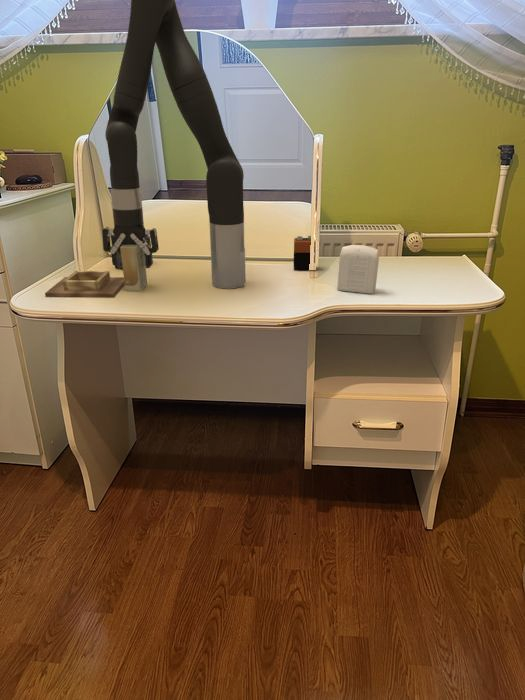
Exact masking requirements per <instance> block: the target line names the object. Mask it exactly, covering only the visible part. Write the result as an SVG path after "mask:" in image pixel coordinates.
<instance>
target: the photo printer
mask: <svg viewBox="0 0 525 700" xmlns="http://www.w3.org/2000/svg"><path fill="white" fill-rule="evenodd" d="M379 260H380V256H379V250H378V249H377V248H375V247H372V246H369V245H363V244H352V245H345V246H343V247H342V248H341V251H340V253H339V262H338V272H337V273H338V274H337V275H338V276H337V287H336V289H337V291H344V292H351V293H352V292H353V293H362V294H373V295H374V294H375V293H376V289H377V288H376V287H377V279H378V270H379V263H380V262H379Z"/></svg>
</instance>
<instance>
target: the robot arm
mask: <svg viewBox="0 0 525 700" xmlns="http://www.w3.org/2000/svg"><path fill="white" fill-rule="evenodd" d="M126 36H127V37H126V41H125V46H124V50H123V55H122V58H121V62H120V66H119V67H120V68H119V71H118V75H117V79H116V85H115V89H114V95H113V103H112V106H111V110H110V113H109V117H108V121H107V124H106V127H105V140H106V144H107V150H108V155H109V156H108V158H109V164H110V166H109V178H110V181H109V182H110V191H111V194H110V197H111V199H110V200H111V203H110V204H111V209H112V217H113V225H114V228H110V227H109V226H106V227H104V228H103V229H102V230H101V231H102V232H101V233H102V249H103V251H104V252H107V253H110V254H111V255H110V256H111V262H112V266H114V268H115V267H119V266H120V263H119V253H118V252H117V250H118V249H119V247H120V246H121V245H122V244H123V245H138V246H139V247H140V248H141V249H142V250H143V251H144V252H145V253H146V255H145V258H146V269H150V268H151V267H152V266H153V264H154V260H152V259H153V254H155V253H157V252H158V251H159V249H160V247H159V241H158V240H159V239H158V232H157V229H156V228H154V227H153V228H151V229H146V228H145V225H144V210H143V202H142V201H143V199H142V194H141V193H142V192H141V188H140V175H139V169H138V139H137V138H138V137H137V133H136V132H137V129H138V127H137V126H138V123H139V117H140V115H141V114H142V111H143V108H144V106H145V101H146V97H147V94H148V93H147V92H148V87H149V84H150V78H151V72H152V64H153V57H154V51H155V45H156V47H157V50H158V53H159V57H160V59H161V63H162V66H163V67H162V68H163V70H164V75H165V77H166V79H167V80H166V81H167V82H168V86H169V89H170V91H171V93H172V96H173V98H174V102H175V104H176V106H177V108H178V110H179V113H180V114H181V116H182V119H184V121H185V123H186V125H187V127H188V128H189V130H190V131H191V133H192V135H193V136H194V138H195V139H196V141H197V143H198V145H199V148H200V150H201V152H202V153H201V154H202V156H203V158H204V162H205V164H206V169H207V171H206V177H205V178H206V179H205V180H206V181H205V182H206V200H207V201H206V202H207V212H208V221H209V222H208V223H209V224H208V225H209V240H210V241H209V243H210V262H211V263H210V265H211V266H210V267H211V268H210V269H211V284H212V286H213V287H215V288H219V289H236V288H243V287H244V288H245V285H246V280H247V279H246V278H247V277H246V247H245V209H244V207H245V206H244V177H245V176H244V169H243V167H242V165H241V163H240V162H239V159H238V158H237V154H235V152H234V150H233V148H232V146H231V143H230V142H229V141H230V140H228V136H227V135H226V131H225V129H224V125H223V122H222V118H221V114H220V111H219V107H218V104H217V100H216V98H215V96H214V92H213V90H212V87H211V85H210V84H211V83H210V82H209V80H208V76H207V74H206V71H205V69H204V67H203V66H202V63H201V61H200V59H199V58H198V56H197V54H196V52H195V51H194V48H193V47H192V45H191V43H190V41H189V40H188V37H187V35H186V33H185V30H184V27H183V23H182V21H181V18H180V14H179V10H178V9H177V3H176V1H175V0H131V1H130V14H129V22H128V30H127V35H126ZM145 234H147V235H148V237H149V238H150V242H151V248H150V246H149V245H148V243H147V242H146V241H145V239H144V238H143V237H144V236H145ZM112 235H115V236H116V237H117V239H118V240H117V241H116V243H115V244H114V246H113V247H112V245H111V236H112Z"/></svg>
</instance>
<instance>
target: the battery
mask: <svg viewBox="0 0 525 700" xmlns="http://www.w3.org/2000/svg"><path fill="white" fill-rule="evenodd" d="M311 236H312V235H307V237H303V236H302V235H300V236H299V235H297V237H294V238H293V270H294V271H295V270H298V271H301V272H303V271H306V272H309V271H308V270H309V264H310V245H311Z"/></svg>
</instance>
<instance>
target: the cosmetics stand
mask: <svg viewBox="0 0 525 700" xmlns="http://www.w3.org/2000/svg"><path fill="white" fill-rule="evenodd" d="M124 287H125V282H124V276H122V277H120V276H118V277H116V276H113V277H111V274H110V270H75V271H73V272H72V273H71V274H70V275H68V276H64V277H63V278H62V279H61V280H60V281H58V282H57V283H55V284H54V285H53V286H52V287H51V288H49V289H48V290H47V291H45V292H44V296H45V297H46V298H115V297H116V295H117V294H118V293H119V292H120V291H121V289H123V288H124Z"/></svg>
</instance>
